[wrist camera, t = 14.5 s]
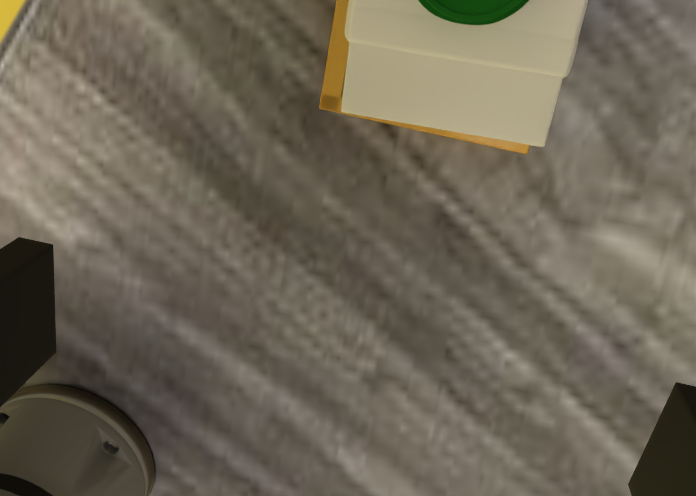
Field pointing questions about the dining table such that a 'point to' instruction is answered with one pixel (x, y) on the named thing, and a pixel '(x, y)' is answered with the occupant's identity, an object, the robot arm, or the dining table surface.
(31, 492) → the robot arm
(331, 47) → the frame
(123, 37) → the dining table surface
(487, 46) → the soya milk
